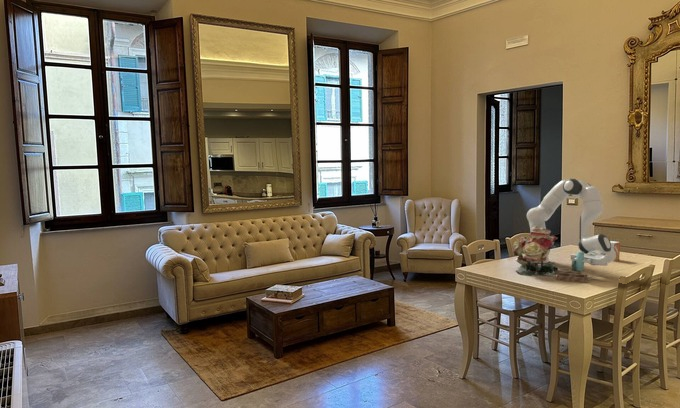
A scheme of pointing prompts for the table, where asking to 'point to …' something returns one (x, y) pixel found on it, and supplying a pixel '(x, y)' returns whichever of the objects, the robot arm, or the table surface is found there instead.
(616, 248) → the small box
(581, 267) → the dowel
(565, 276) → the socket board
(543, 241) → the rose bouquet
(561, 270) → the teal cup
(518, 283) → the table surface
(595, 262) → the robot arm
